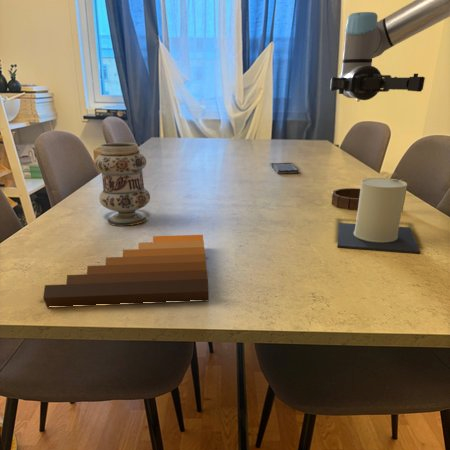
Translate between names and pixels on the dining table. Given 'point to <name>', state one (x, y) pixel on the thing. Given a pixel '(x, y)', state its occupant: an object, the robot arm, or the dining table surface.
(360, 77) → the robot arm
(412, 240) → the mat
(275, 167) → the phone
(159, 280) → the pan flute
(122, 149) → the apothecary jar
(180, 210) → the dining table surface
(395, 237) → the can
